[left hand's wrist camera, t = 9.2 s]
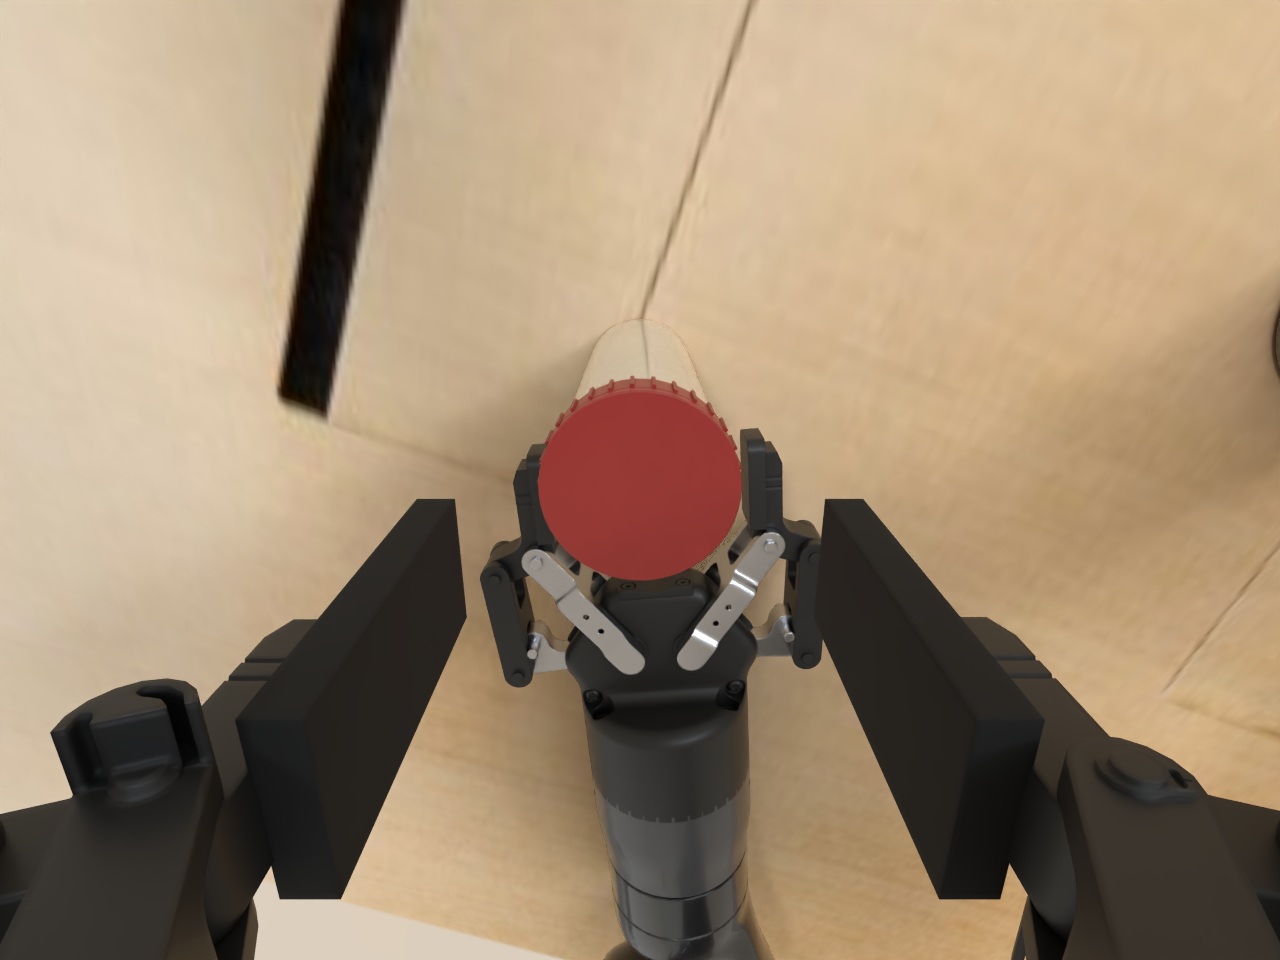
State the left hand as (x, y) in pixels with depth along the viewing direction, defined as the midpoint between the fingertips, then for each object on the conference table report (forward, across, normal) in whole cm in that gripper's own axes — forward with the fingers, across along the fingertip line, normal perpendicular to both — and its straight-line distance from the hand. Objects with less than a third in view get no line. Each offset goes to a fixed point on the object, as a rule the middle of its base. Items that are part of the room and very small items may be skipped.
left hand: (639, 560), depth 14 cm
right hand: (+13, 0, +2) cm, 14 cm away
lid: (+4, 0, 0) cm, 4 cm away
